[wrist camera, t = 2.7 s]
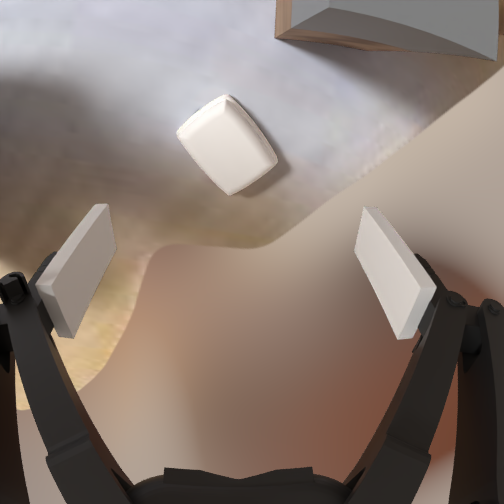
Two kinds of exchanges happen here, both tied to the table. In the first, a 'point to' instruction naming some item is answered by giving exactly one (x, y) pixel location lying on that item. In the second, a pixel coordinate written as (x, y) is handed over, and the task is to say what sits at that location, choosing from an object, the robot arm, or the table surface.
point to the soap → (227, 145)
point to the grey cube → (408, 23)
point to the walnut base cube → (320, 33)
